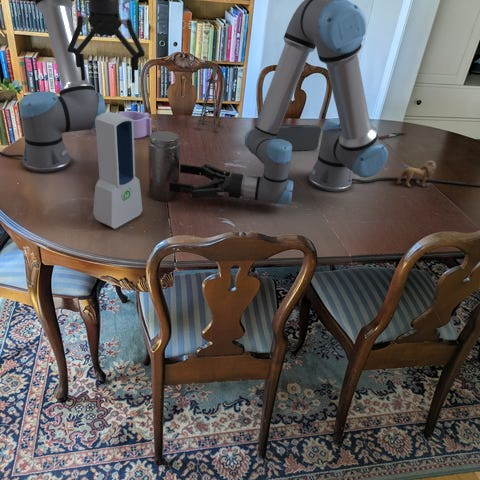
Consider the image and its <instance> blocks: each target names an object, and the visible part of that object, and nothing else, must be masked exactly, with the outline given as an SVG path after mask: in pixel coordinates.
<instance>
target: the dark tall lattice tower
mask: <svg viewBox="0 0 480 480" xmlns="http://www.w3.org/2000/svg"><path fill="white" fill-rule="evenodd" d="M217 59H218V56H215V59H214V61H213V62H212V63H213V65H209V63H204V62H202V63H201V64H202V65H201V66H202V67H201V69H202V70H209V69H211V72H210V78H207V80H205V82H206V83H208V86H207V87H206V88H207V89H206V93H205V97H204V100H203V103H202V108H201V113H200V114H199V115H200V117H199V119H198V124H197V128H196V129H197V130H199V129H200V126H201V123H202V124H204V123H208V124H213V126H214V127H213V128H214V132H215V133H216V132H217V123H218V127H221V120H220V119H221V117H220V111H219V106H218V105H219V104H218V95H217V89H216V88H217V86H216V83H217V84H218V82H219V81H220V79H216V78H217V73H218V66H219V64H218V60H217ZM210 90H212V94H210ZM211 97H212V98H211ZM208 100H212V102H213V103H212V104H208V102H209V101H208ZM207 106H208V107H213V108H212V109H211V108H207ZM207 111H213V116H212V115H206V112H207ZM216 114H217V116H216ZM206 117H207V118H213V121H208V120H205V118H206ZM216 119H217V120H216Z"/></svg>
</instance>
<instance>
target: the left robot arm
mask: <svg viewBox="0 0 480 480" xmlns="http://www.w3.org/2000/svg"><path fill="white" fill-rule="evenodd" d="M17 1H18V2H29V3H34V5H35V8H36V10H37V11H38V12H39V13H41V14H42V15H43V19H44V23H45V26H46V27H45V28H46V29H47V30H46V31H47V34H48V38H49V42H50V45H51V49H52V54H53V58H54V61H55V65H56V68H57V73H58V75H59V76H58V77H59V80H60V83H61V87H60V89H59V90H58V94H59V95H58V94H57V93H56V92H54V91H45V90H44V91H43V90H41V91H36V92H32V93H28V94H26V95H24V96H23V97H22V98H21V99H20V100H19V103H18V104H19V116H20V119H21V125H22V132H23V137H24V148H23V153H22V154H9V153H4V152H2V151H0V155H1V156H4V157H8V158H21V159H22V160H21V161H22V166H23V168H24V169H25V170H27V171H29V172H33V173H39V174H46V173H56V172H61V171H63V170H66V169H67V168H69V167H70V166H71V163H72V159H71V155H70V153H69V151H68V150H67V149H68V148H67V147H66V145H65V143H64V140H63V134H64V133H72V132H81V131H91V130H93V129H95V130H96V125H95V118H96V117H98V116H99V115H101V114H102V113H106V112H107V109H106V101H105V98H104V96H103V95H102V93H101V92H96V88H95V86H94V85H93V84H91V83H90V82H89V80H88V76H87V75H88V74H87V72H86V68H85V67H86V66H85V56H84V53H82V52H83V51H84V49H85V48H86V46H87V45H88V44H89V43H90V42H91V40H92V39H93V38H94V37H95V36H96V34H97V35H98V36H100V37H101V36H103V37H104V36H107V37H113V36H115V37H116V38H117V39H118V40H119V41H120V43H121V44H122V45H123V46H124V47H125V48H126V50H127V51H128V52H129V54H130V55H131V56H130V68H131V69H130V71H131V84H135V82H136V76H135V71H139V59H140V58H143V57H145V55H146V52H145V50H144V47H143V46H142V43H141V41H140V40H139V37H138V35H137V33H136V31H135V29H134V27H133V20H132V19H131V18H130V17H128V18H126V19H121V16H120V15H121V14H120V0H88V6H89V16H85V15H83V14H79V15H78V16H77V23H76V24H77V25H76V27H75V25H74V21H73V18H72V14H71V9H72V8H73V7H74V3H73V2H75V0H17ZM87 23H89V26H91V30H90V31H89V33H88V34H87V35H86V36H85V38H84V39H83V40H82V42H81V43H80V44H79V41H78V39H79V37H80V34H81V31H82V29H83V26H85V25H86V24H87ZM122 25H123V26H124V28H125V29H127V31H128V33H129V35H130V37H131V40H132V41H133V43H134V45H135V48H136V49H137V51H136V50H135V48H134V47H133V45H132V44H131V43H130V42H129V40H128V39H127V38H126V37H125V36H124V34H123V33H122V31H121V30H120V28H121V26H122Z"/></svg>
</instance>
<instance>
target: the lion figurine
mask: <svg viewBox="0 0 480 480" xmlns="http://www.w3.org/2000/svg"><path fill="white" fill-rule="evenodd" d="M435 170H436V162H435V161H434V160H431V159H430V160H427V161H425V163H424V164H423V165H422V167H420V168H419V167H418V168H415V167H411V166H408V167H406V168H405V169H403V171H402V172H401V173H400V176H398V177H399V178H398V180H396V185H399V184H401V183H402V182H401V181H402V180H401V178H407V180H405V184H406V186H407V187H409V188H410V187H411V184H410V183H409V182H410V181H411V180H410V179H411V178H418V179H417V181H416V183H417V184H421V187H425V186H426V185H425V183H426V182H427V181H426V179H429V178H430V177H431V176H432V175H433V174H434V172H435ZM420 178H422V179H423V180H422V181H420Z"/></svg>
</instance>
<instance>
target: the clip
mask: <svg viewBox="0 0 480 480" xmlns="http://www.w3.org/2000/svg"><path fill="white" fill-rule="evenodd" d="M115 113H116V114H119V115H122V116H125V117H128V118H131V119H133V125H134V139H140V138H144V137H146V136H149V137H150V134H151V133H153V132H152V131H153V129H152V127H153V126H152V118H151V117H150V113H149V112H142V111H138V110H137V111H135V110H124V111H119V112H115Z"/></svg>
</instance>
